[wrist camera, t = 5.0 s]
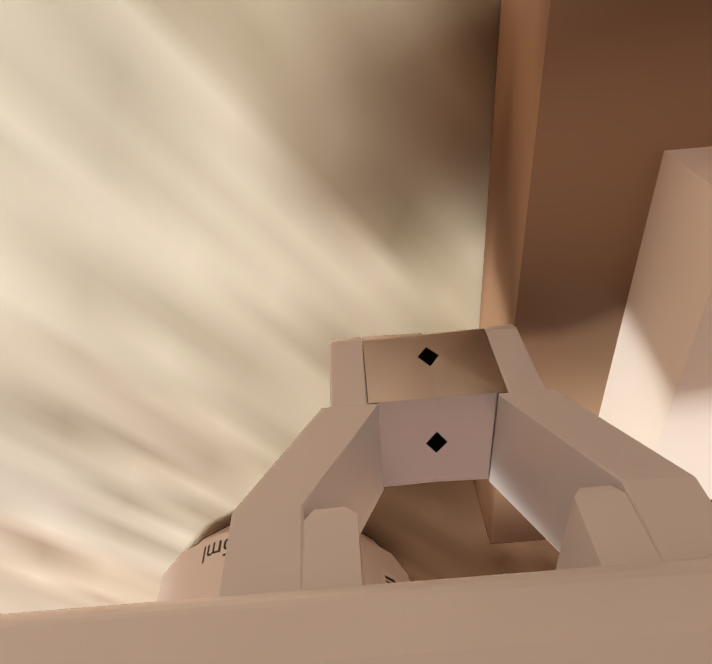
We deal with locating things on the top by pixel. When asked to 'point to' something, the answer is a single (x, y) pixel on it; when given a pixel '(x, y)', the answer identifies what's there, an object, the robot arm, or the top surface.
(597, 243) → the brown square tile
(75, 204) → the top surface
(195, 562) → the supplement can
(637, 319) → the cream rectangular block
